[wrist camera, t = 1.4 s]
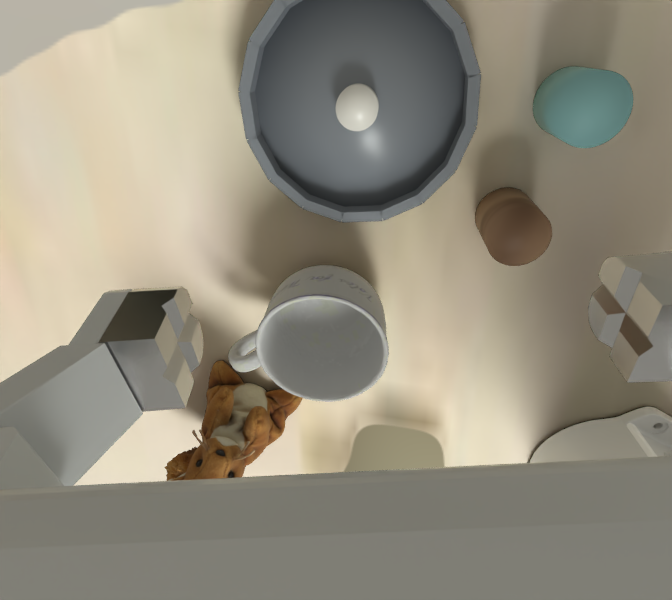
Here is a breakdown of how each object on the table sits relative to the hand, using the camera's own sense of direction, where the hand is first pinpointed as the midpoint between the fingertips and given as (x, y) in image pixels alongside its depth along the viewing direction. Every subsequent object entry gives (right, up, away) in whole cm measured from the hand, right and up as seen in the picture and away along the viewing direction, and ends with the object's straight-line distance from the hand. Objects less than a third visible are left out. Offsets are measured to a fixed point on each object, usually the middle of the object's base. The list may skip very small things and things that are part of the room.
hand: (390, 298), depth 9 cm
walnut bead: (+13, +7, +28) cm, 31 cm away
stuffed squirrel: (-11, -12, +42) cm, 45 cm away
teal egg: (+15, +14, +23) cm, 31 cm away
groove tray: (+1, +15, +25) cm, 29 cm away
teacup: (-3, 0, +34) cm, 34 cm away
